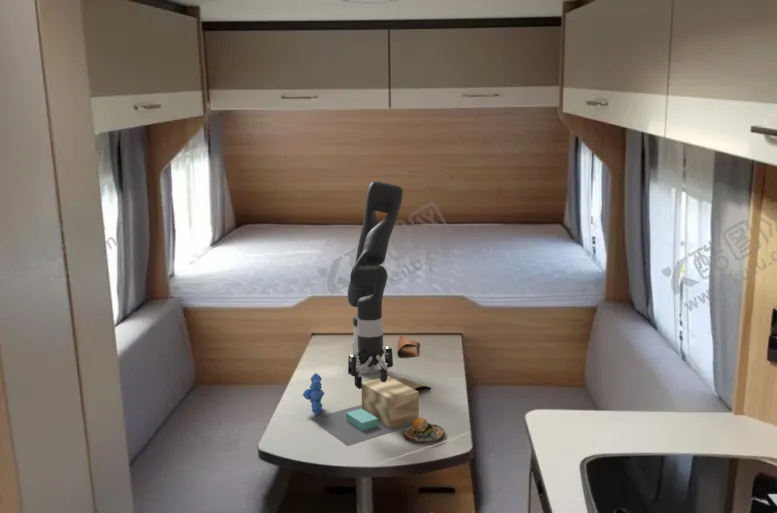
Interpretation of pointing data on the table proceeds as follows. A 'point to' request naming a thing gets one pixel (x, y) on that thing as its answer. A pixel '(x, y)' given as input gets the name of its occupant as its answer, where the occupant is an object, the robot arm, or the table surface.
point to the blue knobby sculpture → (315, 394)
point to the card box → (362, 419)
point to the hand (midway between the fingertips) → (371, 384)
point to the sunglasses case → (407, 347)
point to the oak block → (390, 401)
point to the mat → (351, 427)
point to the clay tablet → (410, 383)
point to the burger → (423, 432)
